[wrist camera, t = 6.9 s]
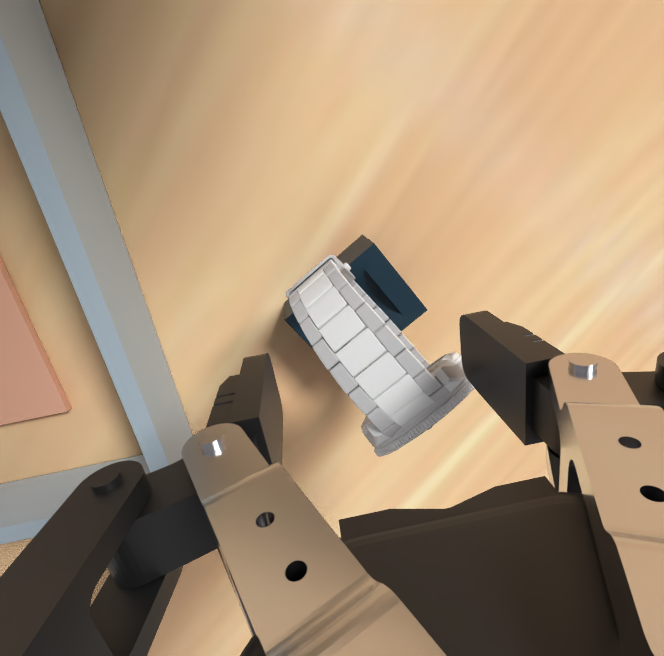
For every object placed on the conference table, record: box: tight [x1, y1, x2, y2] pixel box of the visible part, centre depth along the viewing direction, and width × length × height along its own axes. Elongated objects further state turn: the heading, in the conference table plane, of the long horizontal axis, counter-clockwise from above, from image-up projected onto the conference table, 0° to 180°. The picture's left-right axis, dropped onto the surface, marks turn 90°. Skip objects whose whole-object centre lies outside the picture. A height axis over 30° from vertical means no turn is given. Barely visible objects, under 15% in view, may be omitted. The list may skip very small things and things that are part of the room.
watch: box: [285, 235, 474, 457], centre depth 17 cm, size 6×8×11 cm
